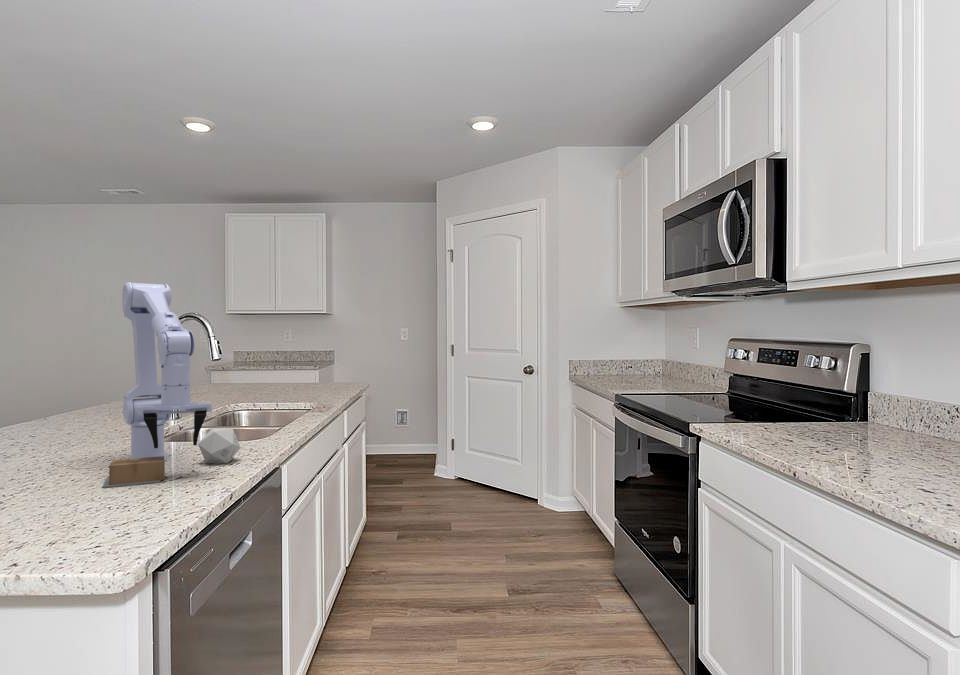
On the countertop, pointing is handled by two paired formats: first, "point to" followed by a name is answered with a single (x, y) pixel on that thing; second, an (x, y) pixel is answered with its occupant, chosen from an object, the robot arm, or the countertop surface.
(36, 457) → the countertop surface
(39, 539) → the countertop surface
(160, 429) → the robot arm
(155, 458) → the walnut block
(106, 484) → the mat
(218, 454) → the die
